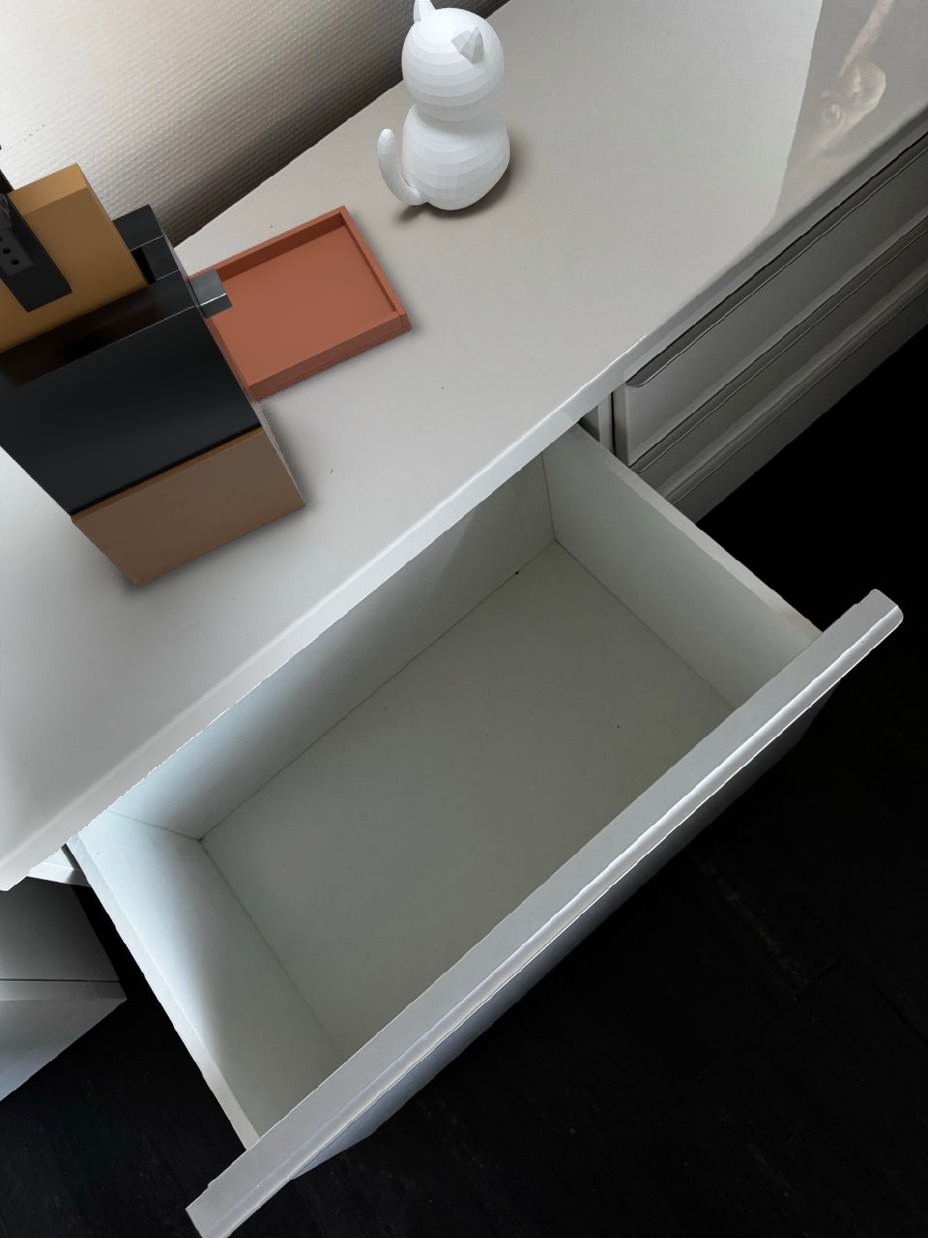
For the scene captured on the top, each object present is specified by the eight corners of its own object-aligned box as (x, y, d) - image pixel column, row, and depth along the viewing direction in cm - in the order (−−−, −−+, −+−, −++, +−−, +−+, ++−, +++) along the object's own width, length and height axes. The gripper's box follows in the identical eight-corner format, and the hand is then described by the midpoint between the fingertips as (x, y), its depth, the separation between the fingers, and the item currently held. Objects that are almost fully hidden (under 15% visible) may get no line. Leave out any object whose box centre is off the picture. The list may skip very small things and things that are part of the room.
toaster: (136, 587, 77) (-33, 418, 57) (99, 485, 81) (-70, 295, 61) (328, 495, 78) (228, 298, 58) (282, 400, 82) (173, 184, 62)
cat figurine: (542, 168, 88) (528, 3, 74) (433, 255, 86) (398, 102, 72) (472, 119, 91) (447, -47, 78) (366, 201, 89) (320, 45, 75)
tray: (239, 410, 82) (230, 394, 80) (188, 297, 88) (178, 280, 86) (411, 329, 83) (406, 312, 81) (350, 222, 88) (344, 204, 86)
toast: (10, 385, 61) (-95, 266, 52) (2, 361, 62) (-102, 240, 53) (164, 315, 62) (86, 185, 53) (154, 292, 63) (76, 161, 54)
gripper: (-161, -116, 33) (143, 347, 55) (-227, -318, 40) (69, 169, 61) (-381, -23, 33) (12, 407, 54) (-413, -242, 39) (-49, 222, 60)
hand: (41, 281), depth 58 cm, fingers closed on toast, 2 cm apart
